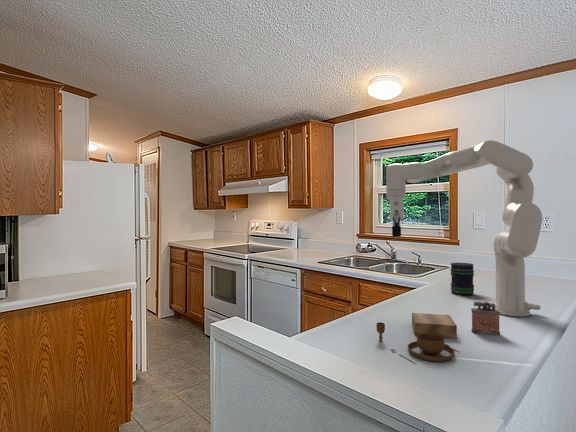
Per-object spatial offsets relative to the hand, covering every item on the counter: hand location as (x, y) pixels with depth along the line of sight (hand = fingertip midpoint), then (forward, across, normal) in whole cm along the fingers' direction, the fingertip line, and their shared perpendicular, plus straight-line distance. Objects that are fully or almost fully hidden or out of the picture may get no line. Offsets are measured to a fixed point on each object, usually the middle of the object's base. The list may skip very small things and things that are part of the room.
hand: (396, 236), depth 142 cm
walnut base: (+30, -27, -10) cm, 41 cm away
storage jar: (+30, +32, -30) cm, 54 cm away
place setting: (+30, -44, -5) cm, 53 cm away
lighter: (+30, -25, -26) cm, 47 cm away
